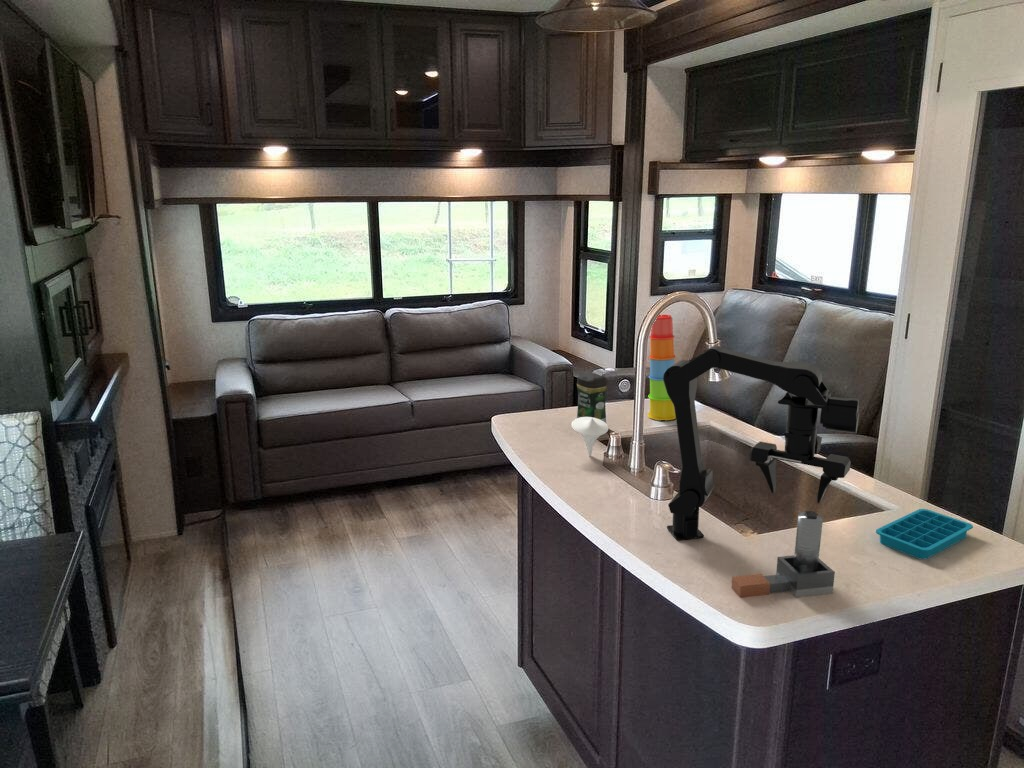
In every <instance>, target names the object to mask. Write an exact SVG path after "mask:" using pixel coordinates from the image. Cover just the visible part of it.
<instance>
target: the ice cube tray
mask: <svg viewBox="0 0 1024 768" xmlns="http://www.w3.org/2000/svg"><path fill="white" fill-rule="evenodd" d="M973 528H974V526H973V524H971V523H970V522H967V521H964V520H960V519H958V518H955V517H952V516H948V515H945V514H943V513H940V512H936V511H934V510H930V509H929V508H919V509H917V510H915V511H912V512H911V513H908V514H906V515H904V516H901V517H900V518H898V519H895V520H893V521H892V522H888V523H887V524H885V525H883V526H881V527H878V528H876V530H875V533H876V534H877V535H878V536H879V543H880V544H881V545H883V546H886V547H888V548H891V549H894V550H897V551H899V552H902V553H904V554H906V555H910V556H911V557H915V558H917V559H920V560H926V559H929V558H931V557H933V556H934V555H936V554H938V553H940V552H942V551H944V550H945V549H947V548H949V547H951V546H953V545H955V544H957V543H959V542H960V541H962V540H964V539H965V538H966V537H967V532H968V531H970V530H972V529H973Z"/></svg>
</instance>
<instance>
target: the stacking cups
mask: <svg viewBox="0 0 1024 768" xmlns="http://www.w3.org/2000/svg"><path fill="white" fill-rule="evenodd" d="M658 315H659V316H658V317H657V319H656V321H655V322H654V324H653V326H652V329H651V328H650V336H649V338H650V355H649V356H648V358H649V370H650V371H649V375H648V379H649V394H648V395H647V398H649V413H647V417H648V418H649V419H651V420H654V419H655V421H661V420H665V421H671V420H676V416H675V409H674V405H673V403H672V401H671V399H670V398H669V396H668V394H667V391H666V387H665V384H664V381H663V376H664V373H665V372H666V370H667V369H668V368H669V367H671V366H672V365H674V364H675V358H676V355H675V352H674V351H675V349H674V348H675V347H674V338H675V335H673V334H674V330H673V329H674V328H673V326H674V325H673V317H672V315H670V314H658Z"/></svg>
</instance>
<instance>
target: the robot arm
mask: <svg viewBox="0 0 1024 768" xmlns="http://www.w3.org/2000/svg"><path fill="white" fill-rule="evenodd" d="M714 368H716V369H720V370H724V371H727V372H730V373H735V374H738V375H742V376H746V377H750V378H754V379H758V380H761V381H765V382H768V383H771V384H773V385H775V386H777V387H778V388H779V389H780V390H783V391H785V392H786V393H785V394H784V395H782V396H780V397H779V399H778V401H777V404H779V405H783V406H784V405H785V406H786V405H787V416H786V428H785V432H784V440H785V442H784V450H779V449H777V448H778V447H777V444H776V443H769V442H764V441H758V442H757V443H756V444H754V446H752V447H751V448H750V450H749V458H748V459H749V461H750V462H754V465H755V466H756V467H759V468H760V470H761V472H762V474H763V476H764V478H765V480H766V482H767V485H768V486H769V489H770V492H771V494H775V493H776V489H777V488H776V487H777V478H776V477H777V471H776V470H777V469H776V468H777V461H778V460H779V461H785V462H790V463H796V464H802V465H806V466H811V467H816V468H822V472H823V473H822V474H821V475H820V479H819V485H818V491H817V495H816V497H817V499H816V502H817V504H821V502H822V500H823V498H824V495H825V493H826V491H827V489H828V487H829V485H830V483H831V482H832V481H835V482H836V481H837V480H838V479H844V478H846V475H848V473H849V472H850V470H851V459H850V458H849V456H846V455H845V456H844V455H839V454H833V453H830V454H829V455H828V456H827V457H826V458H823V457H819V456H815V455H818V453H819V452H820V451H821V445H822V441H823V437H822V436H821V435H820V436H819V435H818V427H817V426H818V417H820V419H819V424H820V425H822V428H825V430H826V431H831V432H832V431H834V432H841V433H850V434H857V431H858V428H859V427H858V426H859V418H860V411H859V408H860V407H859V404H860V403H859V402H860V401H859V400H860V399H859V398H856V397H848V398H847V397H840V396H832V393H831V391H830V390H829V388H828V386H827V385H826V384H825V382H824V381H823V374H822V372H821V370H820V368H819V366H817V365H816V364H814V363H810V362H802V361H801V362H798V361H775V360H771V359H768V358H763V357H761V356H760V357H759V356H756V355H751V354H747V353H744V352H741V351H736V350H731V349H727V348H724V347H721V346H720V345H712V346H710V347H709V348H707V349H706V350H705V351H703V352H702V353H699V354H698V355H696V356H694V357H693V358H690V359H689V360H687V359H681V360H678V361H677V362H674V365H672V366H671V367H669V368H668V369H667V370H666V372H665V373H664V376H663V381H664V384H665V387H666V391H667V394H668V396H669V398H670V399H671V401H672V403H673V405H674V409H675V416H676V419H675V422H676V430H677V437H678V444H679V445H678V446H679V451H680V452H679V453H680V462H681V472H680V479H679V483H678V485H679V488H678V489H679V490H678V491H677V493H676V494H675V495H674V496H673V498H672V499H671V500H670V501H669V503H668V509H669V511H670V513H671V514H672V525H671V524H670V525H667V526H666V529H667V530H668V532H669V533H670V534H671V535H672V536H673V537H674V538H675V540H677V541H680V540H683V541H684V540H692V539H693V540H694V539H702V538H704V537H705V535H704V533H702V531H701V530H700V529H699V520H700V508H701V507H702V506H703V505H704V504H705V502H706V501H707V500H708V498H709V496H710V495H711V494H712V492H713V489H714V488H715V486H716V484H715V481H714V479H713V475H714V472H713V471H714V470H713V468H709V469H707V468H706V466H705V465H704V463H703V462H704V461H703V459H702V458H703V457H702V449H701V443H700V442H701V441H700V434H699V428H698V426H699V425H698V419H697V412H696V403H695V402H696V401H695V400H696V395H697V390H698V378H699V377H700V376H701V375H703V374H704V373H706V372H708V371H710V370H711V369H714ZM819 409H820V416H818V414H819ZM820 453H821V452H820Z"/></svg>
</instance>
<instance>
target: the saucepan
mask: <svg viewBox="0 0 1024 768" xmlns="http://www.w3.org/2000/svg"><path fill="white" fill-rule="evenodd" d="M793 563H794V554H793V555H785V556H784V555H783V556H777V560H776V573H775V574H772V575H771V574H770V575H763V573H755V574H746V575H738V576H732V577H731V589H732V590H733V591H734V592H735V594H736V595H737V596H738V597H739V598H746V597H755V596H756V597H757V596H764V595H770V594H775V593H776V594H777V593H783V592H790V593H791V595H793V596H794V597H795V598H801V597H809V596H819V595H828V594H833V593H834V582H835V573H836V572H835V571H834V570H833V569H832V568H831V567H830V566H829V565H827V564H826V563H825V562H824V561H822V559H820V558H819V560H818V569H817V572H809V573H800V574H799V573H798V572H797V571H796V570H795V569H794V568H793Z"/></svg>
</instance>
